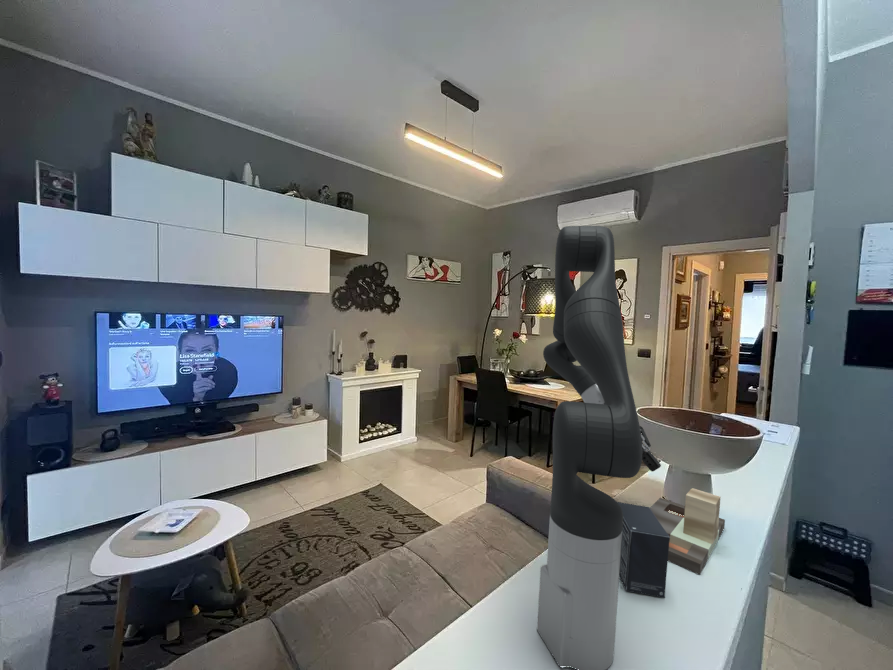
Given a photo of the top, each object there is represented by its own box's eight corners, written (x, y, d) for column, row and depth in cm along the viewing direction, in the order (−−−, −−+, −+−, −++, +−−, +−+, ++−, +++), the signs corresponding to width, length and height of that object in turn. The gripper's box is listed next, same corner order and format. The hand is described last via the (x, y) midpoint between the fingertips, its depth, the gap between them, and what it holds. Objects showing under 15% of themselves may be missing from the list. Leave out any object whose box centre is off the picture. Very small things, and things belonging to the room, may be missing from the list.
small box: (668, 600, 60) (672, 537, 59) (625, 592, 61) (629, 530, 60) (646, 559, 70) (650, 505, 69) (610, 553, 71) (613, 500, 71)
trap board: (699, 575, 66) (700, 564, 66) (624, 541, 75) (624, 531, 75) (724, 528, 82) (725, 519, 82) (659, 505, 91) (660, 497, 91)
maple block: (712, 544, 72) (715, 504, 72) (683, 533, 76) (685, 494, 75) (717, 534, 76) (720, 496, 75) (689, 524, 79) (691, 487, 79)
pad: (707, 559, 70) (708, 549, 70) (669, 543, 75) (670, 534, 75) (718, 539, 77) (719, 530, 77) (682, 526, 82) (683, 517, 82)
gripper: (604, 397, 83) (661, 467, 75) (626, 392, 92) (679, 454, 84) (581, 415, 87) (632, 484, 79) (604, 409, 96) (652, 470, 88)
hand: (656, 469), depth 81 cm, fingers closed
